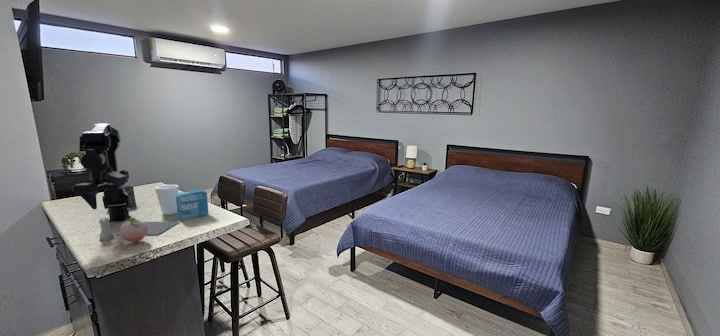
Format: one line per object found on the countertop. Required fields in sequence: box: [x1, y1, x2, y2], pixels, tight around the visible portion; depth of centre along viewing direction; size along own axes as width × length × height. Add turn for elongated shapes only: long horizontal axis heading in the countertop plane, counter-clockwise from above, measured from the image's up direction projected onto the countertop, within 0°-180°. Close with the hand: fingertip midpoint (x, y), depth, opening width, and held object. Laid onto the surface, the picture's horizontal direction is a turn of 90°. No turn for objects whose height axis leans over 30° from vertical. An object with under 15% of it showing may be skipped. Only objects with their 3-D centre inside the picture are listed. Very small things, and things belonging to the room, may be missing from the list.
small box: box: [122, 185, 137, 208], centre depth 154 cm, size 11×6×10 cm, turn 144°
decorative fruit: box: [118, 216, 148, 243], centre depth 112 cm, size 9×8×10 cm
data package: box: [176, 189, 209, 221], centre depth 140 cm, size 12×4×12 cm, turn 134°
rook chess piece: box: [98, 217, 115, 241], centre depth 116 cm, size 4×4×8 cm
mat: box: [117, 221, 180, 236], centre depth 126 cm, size 16×14×1 cm
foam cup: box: [155, 183, 180, 216], centre depth 146 cm, size 10×9×13 cm
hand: (105, 205), depth 115 cm, fingers open, 9 cm apart
